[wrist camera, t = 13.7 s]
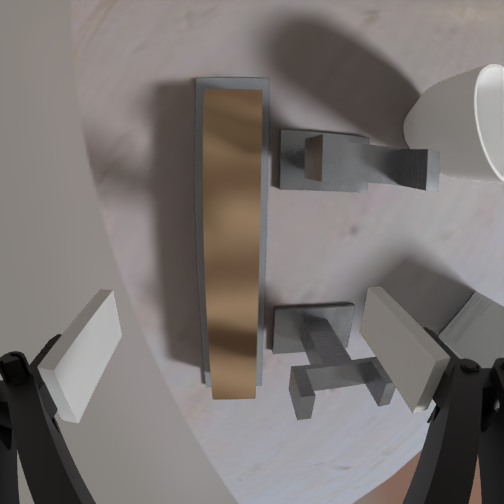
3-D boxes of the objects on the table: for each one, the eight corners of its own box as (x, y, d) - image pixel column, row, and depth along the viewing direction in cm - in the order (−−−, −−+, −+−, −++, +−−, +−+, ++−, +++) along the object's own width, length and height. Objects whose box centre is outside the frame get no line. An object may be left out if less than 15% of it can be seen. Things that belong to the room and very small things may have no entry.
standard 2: (274, 307, 28) (299, 383, 18) (352, 303, 29) (405, 367, 19) (272, 350, 30) (292, 431, 19) (345, 344, 30) (387, 414, 20)
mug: (377, 154, 25) (467, 151, 13) (395, 75, 23) (477, 40, 11) (459, 198, 27) (543, 217, 15) (474, 127, 25) (554, 124, 13)
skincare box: (449, 354, 33) (511, 419, 19) (435, 333, 32) (506, 404, 17) (487, 311, 32) (556, 363, 18) (477, 285, 30) (557, 339, 16)
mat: (196, 79, 22) (196, 78, 22) (268, 80, 22) (269, 78, 22) (206, 384, 31) (205, 386, 30) (261, 383, 31) (261, 385, 31)
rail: (207, 100, 22) (204, 89, 18) (256, 100, 23) (262, 89, 19) (213, 373, 30) (212, 399, 26) (251, 372, 30) (255, 398, 26)
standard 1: (279, 130, 24) (318, 108, 13) (366, 138, 24) (443, 131, 14) (278, 188, 25) (315, 207, 15) (364, 192, 26) (439, 213, 15)
